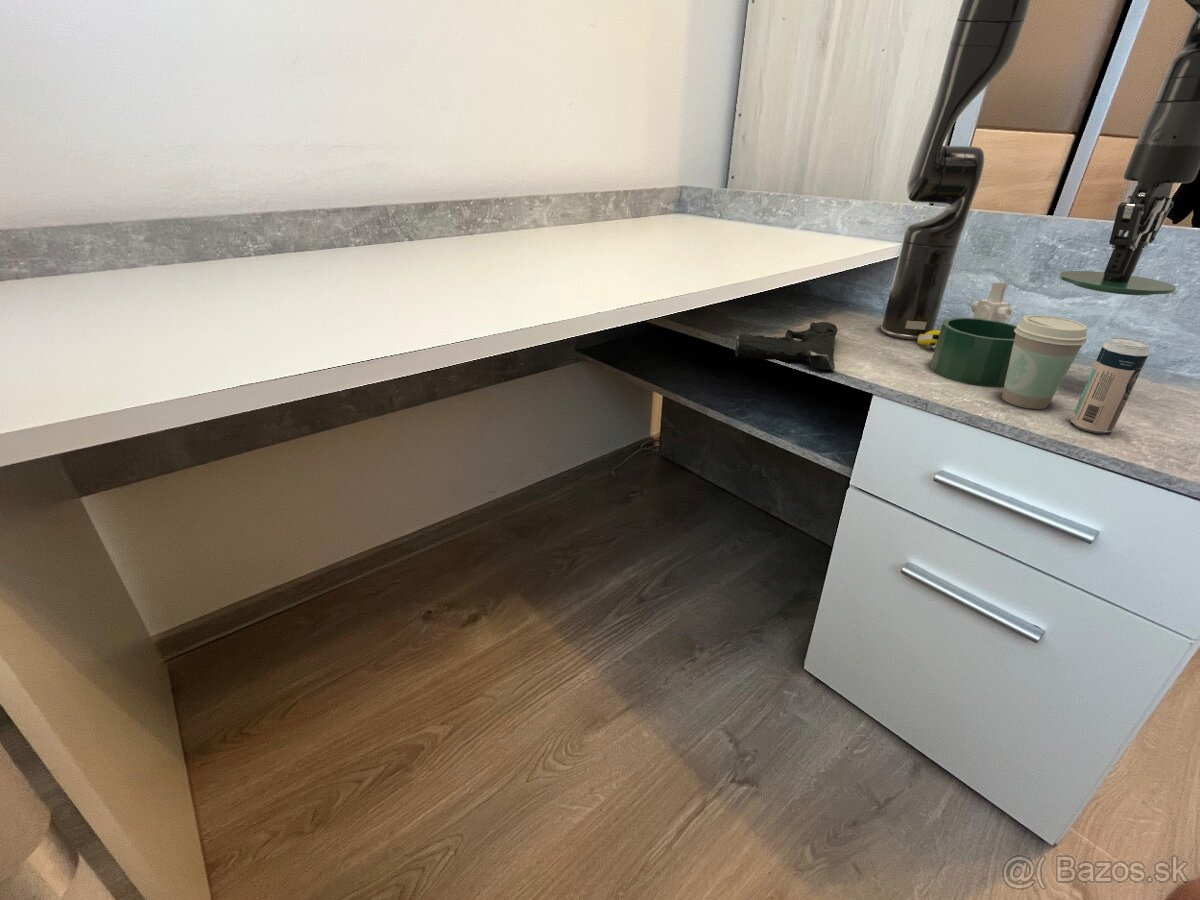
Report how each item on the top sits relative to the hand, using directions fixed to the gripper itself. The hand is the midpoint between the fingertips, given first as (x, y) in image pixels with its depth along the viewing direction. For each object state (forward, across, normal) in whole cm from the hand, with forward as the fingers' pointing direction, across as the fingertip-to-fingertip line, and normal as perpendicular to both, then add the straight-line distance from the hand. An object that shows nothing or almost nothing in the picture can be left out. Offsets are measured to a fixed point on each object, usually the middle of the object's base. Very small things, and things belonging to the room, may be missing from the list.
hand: (1117, 274), depth 87 cm
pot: (+17, -7, +12) cm, 22 cm away
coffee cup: (+18, -14, +1) cm, 22 cm away
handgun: (+16, -20, +29) cm, 39 cm away
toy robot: (+17, +9, +18) cm, 27 cm away
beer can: (+18, -16, -8) cm, 25 cm away
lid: (+1, 0, 0) cm, 1 cm away
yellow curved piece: (+17, +1, +20) cm, 27 cm away
